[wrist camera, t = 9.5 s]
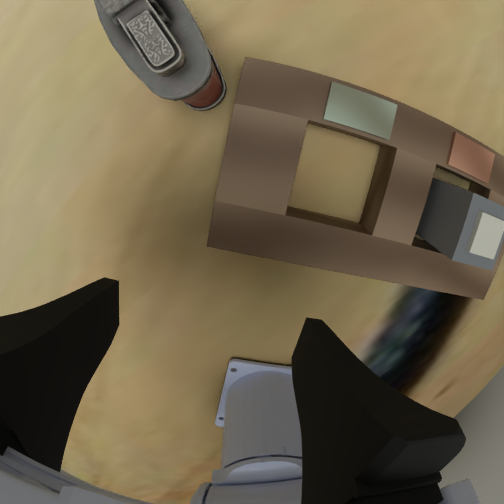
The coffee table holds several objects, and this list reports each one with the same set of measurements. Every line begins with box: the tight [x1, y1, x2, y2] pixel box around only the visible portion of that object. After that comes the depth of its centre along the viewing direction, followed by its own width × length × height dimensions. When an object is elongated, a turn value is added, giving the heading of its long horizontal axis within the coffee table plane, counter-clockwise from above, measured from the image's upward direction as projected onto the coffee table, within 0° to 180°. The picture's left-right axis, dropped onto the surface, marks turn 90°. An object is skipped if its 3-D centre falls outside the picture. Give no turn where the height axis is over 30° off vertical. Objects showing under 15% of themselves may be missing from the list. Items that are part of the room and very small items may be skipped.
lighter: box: [94, 0, 227, 111], centre depth 11 cm, size 8×3×10 cm, turn 30°
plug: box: [416, 178, 504, 271], centre depth 17 cm, size 4×4×6 cm
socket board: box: [207, 57, 504, 300], centre depth 18 cm, size 11×22×3 cm, turn 78°
